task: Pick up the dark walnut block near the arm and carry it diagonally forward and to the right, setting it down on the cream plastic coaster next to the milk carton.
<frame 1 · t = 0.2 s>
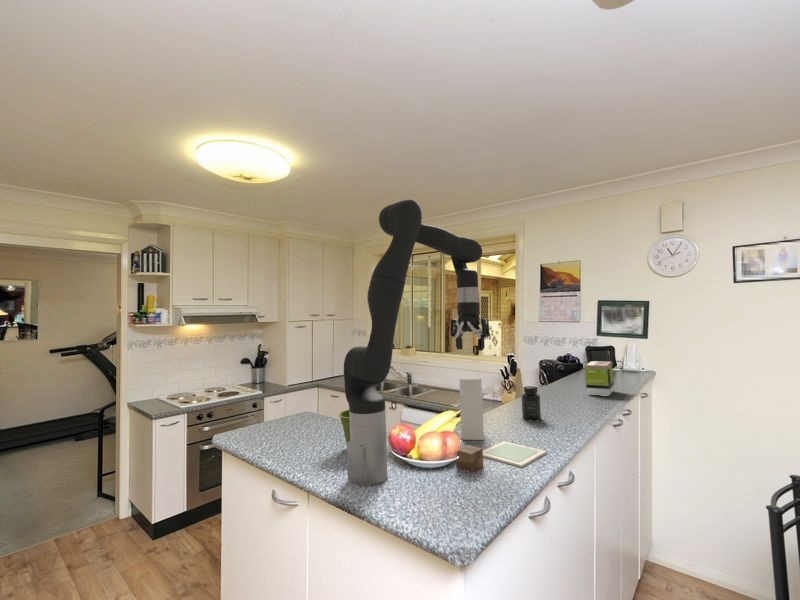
hand: (470, 349, 132), 29 cm above the worktop, tool pointing down, fingers open, 8 cm apart
plant pot: (358, 449, 123), on the worktop
coaster: (512, 454, 114), on the worktop
walnut block: (470, 468, 105), on the worktop
supplement bottle: (531, 419, 150), on the worktop
tea box: (600, 393, 191), on the worktop
milk carton: (472, 437, 131), on the worktop
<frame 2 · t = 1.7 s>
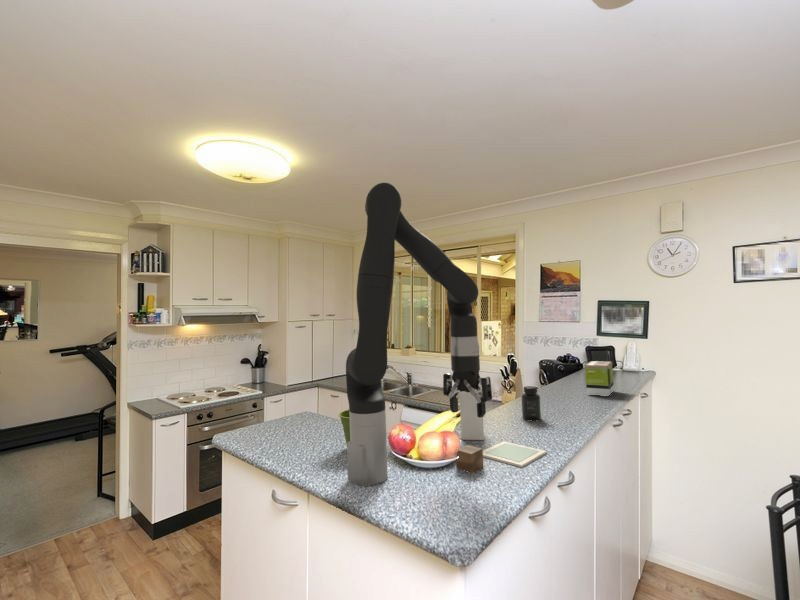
hand: (467, 414, 106), 14 cm above the worktop, tool pointing down, fingers open, 8 cm apart
nothing on the worktop moved.
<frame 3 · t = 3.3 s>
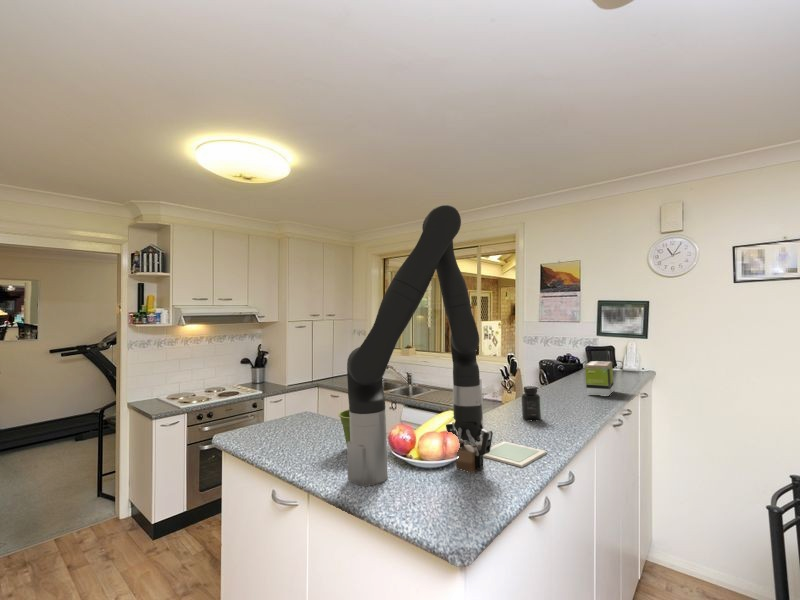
hand: (470, 466, 105), 0 cm above the worktop, tool pointing down, fingers closed on walnut block, 5 cm apart
walnut block: (470, 468, 105), on the worktop, touching gripper
everything else where it was.
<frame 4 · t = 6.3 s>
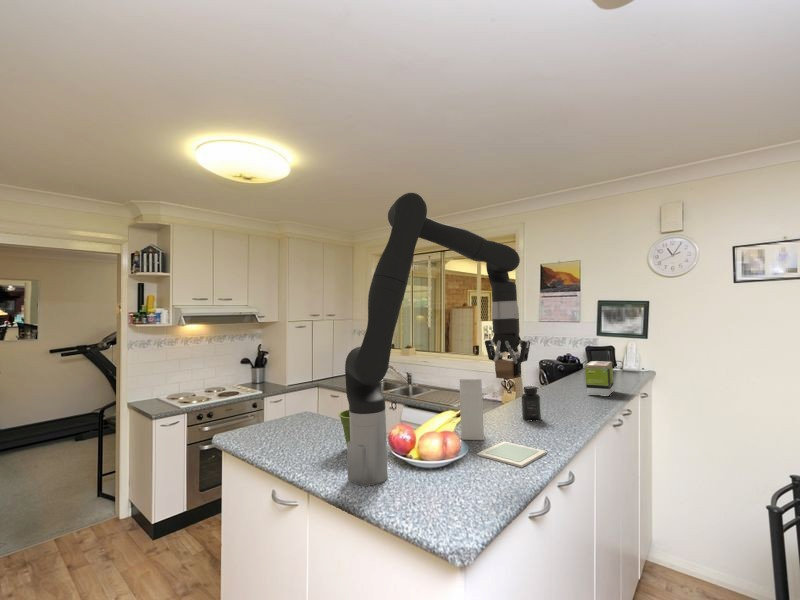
hand: (508, 375, 115), 22 cm above the worktop, tool pointing down, fingers closed on walnut block, 5 cm apart
walnut block: (508, 377, 115), point 22 cm above the worktop, touching gripper
everything else where it was.
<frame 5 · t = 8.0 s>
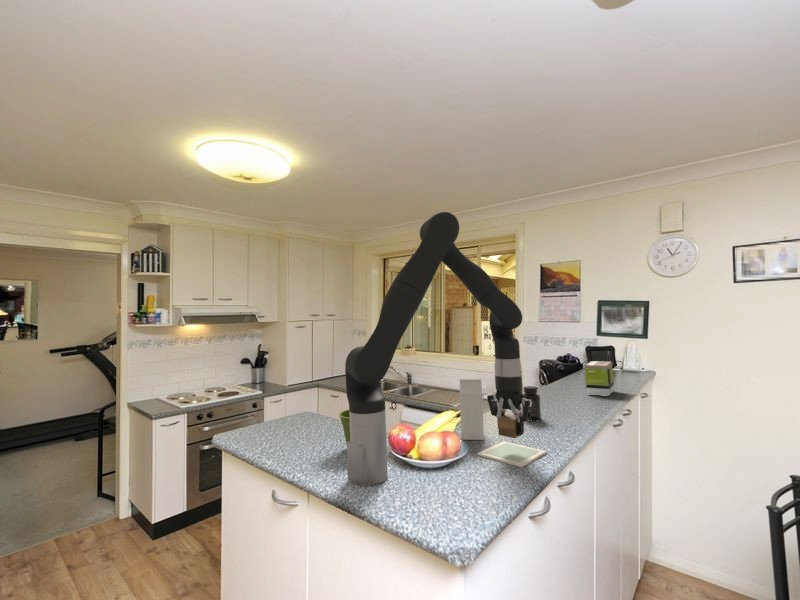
hand: (510, 432, 114), 6 cm above the worktop, tool pointing down, fingers closed on walnut block, 5 cm apart
walnut block: (511, 434, 114), point 6 cm above the worktop, touching gripper
everything else where it was.
when the fingers open (2 cm above the worktop, at t = 9.2 s): walnut block stays where it is, resting on coaster.
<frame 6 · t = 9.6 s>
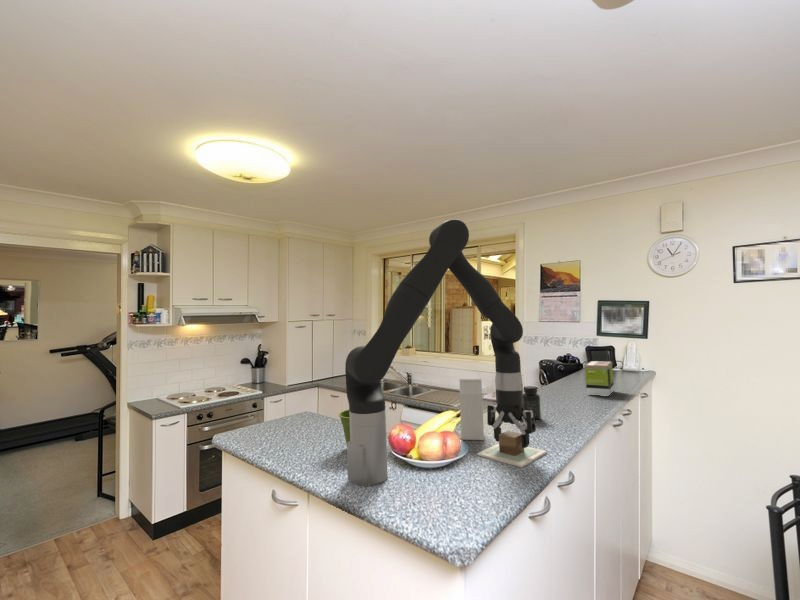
hand: (511, 444, 114), 3 cm above the worktop, tool pointing down, fingers open, 8 cm apart
walnut block: (511, 451, 114), point 1 cm above the worktop, touching coaster
everything else where it was.
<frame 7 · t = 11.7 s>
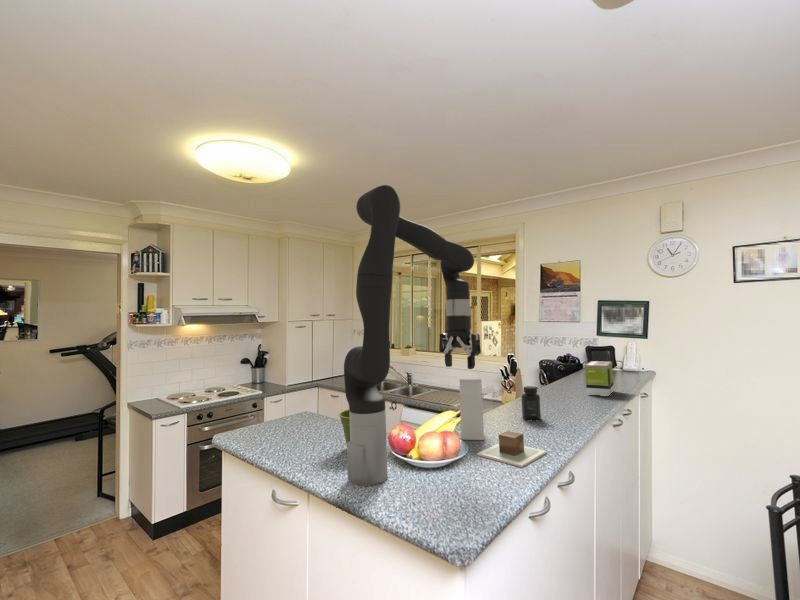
hand: (459, 367, 121), 24 cm above the worktop, tool pointing down, fingers open, 8 cm apart
nothing on the worktop moved.
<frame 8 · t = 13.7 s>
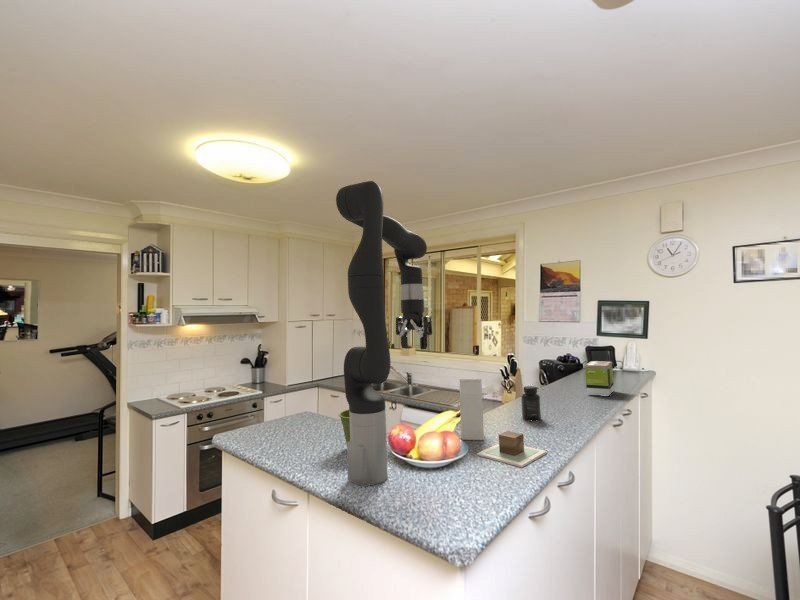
hand: (414, 348, 128), 30 cm above the worktop, tool pointing down, fingers open, 8 cm apart
nothing on the worktop moved.
at the end: walnut block inside the target area on the coaster (0.0 cm from its centre), point 0.7 cm above the coaster's base; walnut block tilted 0°; the gripper is holding nothing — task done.
